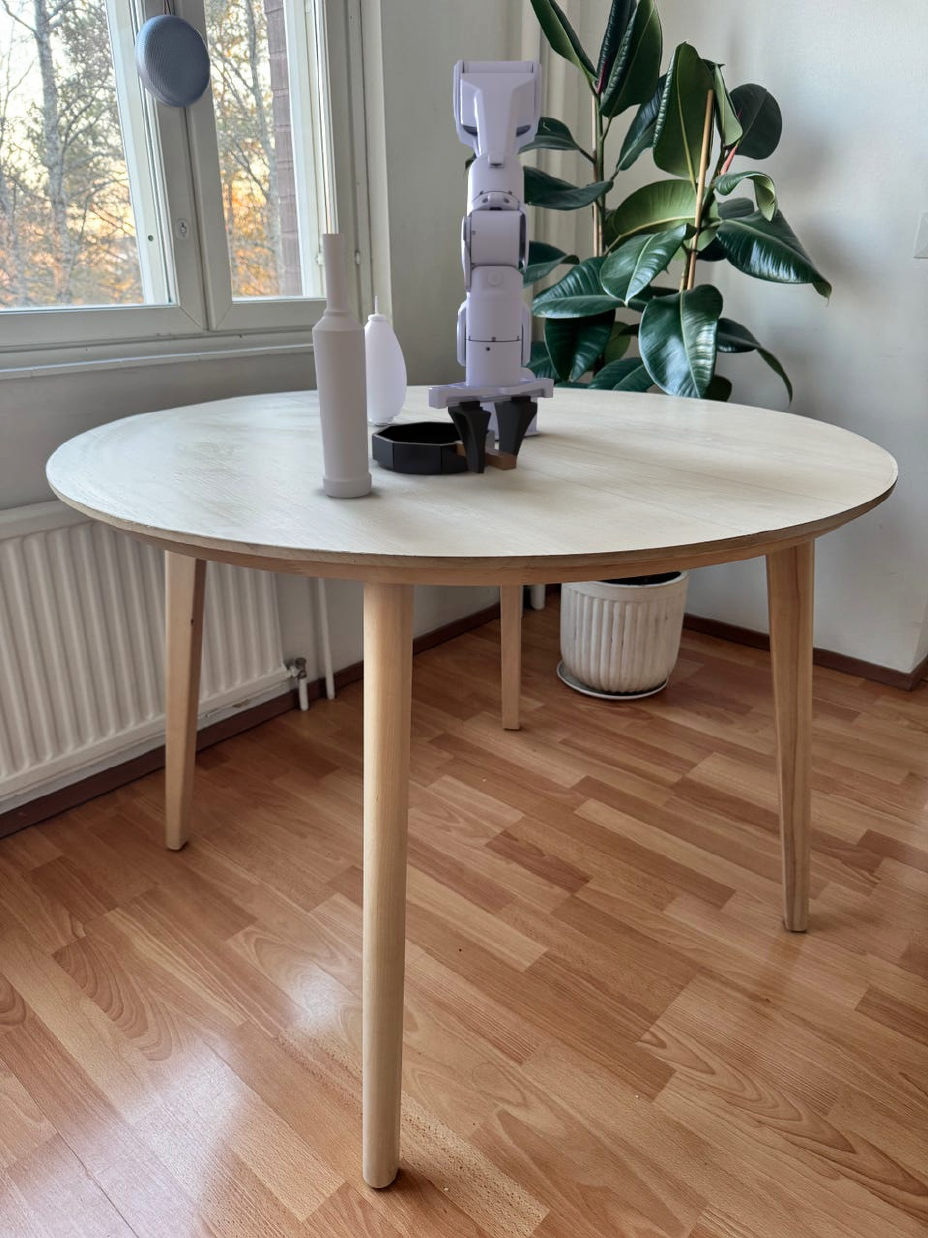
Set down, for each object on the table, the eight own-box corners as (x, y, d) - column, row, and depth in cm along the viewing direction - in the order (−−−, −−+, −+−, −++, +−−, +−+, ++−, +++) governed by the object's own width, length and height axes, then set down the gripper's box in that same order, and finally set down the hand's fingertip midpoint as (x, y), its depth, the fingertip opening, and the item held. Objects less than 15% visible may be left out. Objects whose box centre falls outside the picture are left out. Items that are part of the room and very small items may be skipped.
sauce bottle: (352, 420, 127) (345, 293, 119) (402, 418, 128) (399, 293, 121) (358, 430, 120) (351, 296, 112) (412, 427, 121) (408, 295, 114)
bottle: (325, 486, 91) (307, 234, 81) (372, 485, 91) (361, 234, 81) (321, 499, 86) (302, 232, 76) (372, 497, 86) (359, 233, 76)
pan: (454, 444, 111) (454, 416, 109) (561, 482, 92) (563, 449, 91) (358, 456, 104) (356, 426, 103) (453, 500, 86) (452, 464, 84)
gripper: (452, 346, 79) (453, 486, 85) (573, 339, 86) (566, 468, 91) (417, 340, 85) (420, 471, 90) (533, 333, 91) (529, 456, 97)
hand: (491, 469), depth 91 cm, fingers open, 3 cm apart
